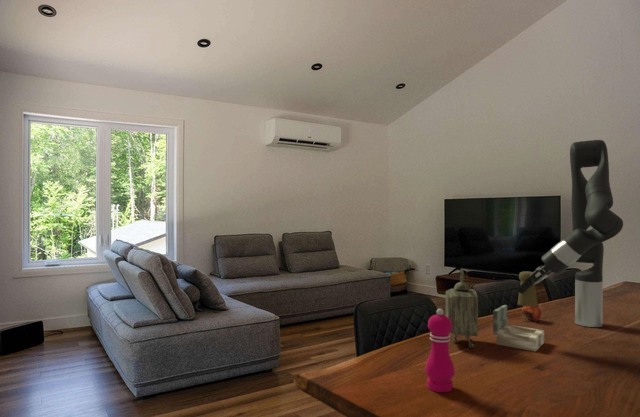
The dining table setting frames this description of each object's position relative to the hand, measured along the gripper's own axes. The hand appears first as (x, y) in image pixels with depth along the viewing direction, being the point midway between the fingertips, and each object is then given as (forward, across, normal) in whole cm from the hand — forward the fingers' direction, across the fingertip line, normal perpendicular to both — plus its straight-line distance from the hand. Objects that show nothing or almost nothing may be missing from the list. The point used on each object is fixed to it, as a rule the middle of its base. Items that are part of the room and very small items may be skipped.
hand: (521, 290), depth 151 cm
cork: (+2, 0, +5) cm, 5 cm away
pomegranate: (+16, -35, +10) cm, 40 cm away
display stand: (+13, 0, +13) cm, 18 cm away
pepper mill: (+18, +52, +8) cm, 56 cm away
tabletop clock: (+24, +12, +1) cm, 27 cm away
